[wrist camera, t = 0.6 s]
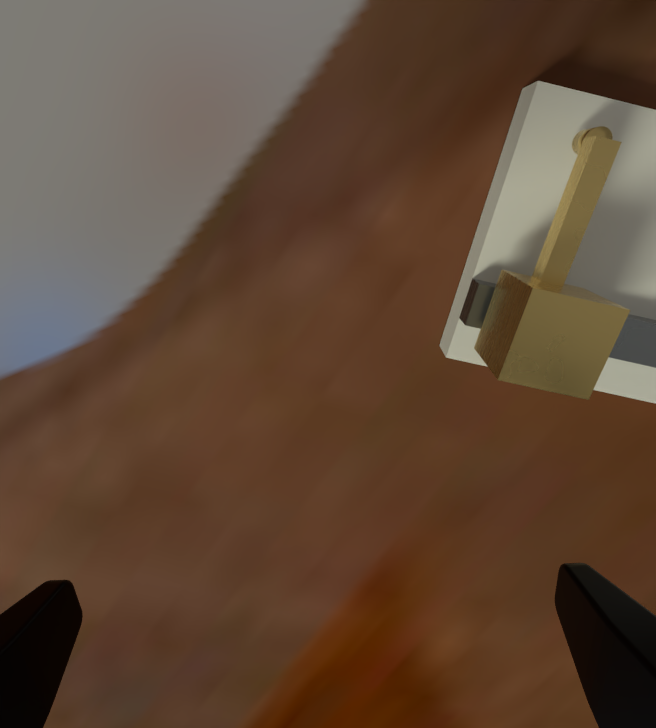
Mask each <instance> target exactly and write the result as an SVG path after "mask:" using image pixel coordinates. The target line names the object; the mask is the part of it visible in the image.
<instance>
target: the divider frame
mask: <svg viewBox="0 0 656 728" xmlns="http://www.w3.org/2000/svg"><path fill="white" fill-rule="evenodd" d="M495 287H496V284H495V283H490V282H486V281H482V280H477V279H473V278H472V281H471V284H470V287H469V290H468V293H467V296H466V299H465V302H464V305H463V308H462V311H461V314H460V317H459V318H460V320H461V321H462V322H463V323H464V325H466V326H470V327H475V328H479V329H481V327H482V324H483V321H484V318H485V315H486V313H487V310H488V307H489V304H490V301H491V298H492V296H493V293H494V290H495ZM609 358H614V359H618V360H623V361H627V362H632V363H636V364H641V365H645V366H650V367H654V368H656V320H653V319H649V318H644V317H640V316H635V315H631V314H628V317H627V319H626V321H625V323H624V325H623V327H622V329H621V332H620V334H619V336H618V338H617V340H616V342H615V344H614V346H613V349H612V351H611V353H610V355H609Z"/></svg>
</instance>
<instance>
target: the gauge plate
mask: <svg viewBox="0 0 656 728" xmlns="http://www.w3.org/2000/svg"><path fill="white" fill-rule="evenodd" d="M600 126H604V127H607V128H609V129H610V131H611V132H612V136H613V139H612V140H615V141H619V142H622V143H621V145H620V147H619V150H618V152H617V155H616V157H615V160H614V162H613V165H612V167H611V170H610V172H609V175H608V177H607V179H606V182H605V184H604V187H603V189H602V192H601V194H600V197H599V199H598V202H597V204H596V207H595V209H594V211H593V214H592V216H591V219H590V221H589V224H588V226H587V229H586V231H585V234H584V236H583V239H582V241H581V243H580V246H579V248H578V251H577V253H576V256H575V258H574V261H573V263H572V266H571V268H570V271H569V273H568V275H567V278H566V280H565V283H564V284H568V285H572V286H576V287H581V288H584V289H586V290H588V291H591V292H593V293H595V294H597V295H599V296H601V297H603V298H606V299H608V300H610V301H612V302H614V303H616V304H619V305H621V306H623V307H625V308H627V309H629V310H630V312H629V314H631V315H635V316H640V317H644V318H649V319H653V320H656V110H654V109H650V108H646V107H642V106H638V105H634V104H630V103H626V102H622V101H618V100H614V99H610V98H606V97H602V96H598V95H594V94H590V93H586V92H582V91H578V90H574V89H570V88H566V87H562V86H558V85H554V84H550V83H546V82H542V81H536V82H534V83H532V84H530V85H528V86H526V87H524V88H522V91H521V94H520V98H519V101H518V104H517V107H516V110H515V113H514V116H513V119H512V122H511V125H510V128H509V132H508V135H507V138H506V141H505V144H504V147H503V150H502V153H501V156H500V159H499V162H498V166H497V169H496V172H495V175H494V178H493V181H492V184H491V187H490V190H489V193H488V196H487V200H486V203H485V206H484V209H483V212H482V215H481V218H480V221H479V224H478V227H477V230H476V234H475V237H474V240H473V243H472V246H471V249H470V252H469V255H468V258H467V261H466V264H465V268H464V271H463V274H462V277H461V280H460V283H459V286H458V289H457V292H456V295H455V298H454V302H453V305H452V308H451V311H450V314H449V317H448V320H447V323H446V326H445V329H444V332H443V336H442V339H441V342H440V345H439V346H440V347H441V349H442V351H443V353H444V355H445V356H446V358H451V359H455V360H460V361H465V362H469V363H474V364H478V365H483V366H487V365H486V364H485V362H484V361H483V360H482V358H481V357H480V356H479V354H478V353H477V352H476V350H475V349H474V346H475V344H476V341H477V338H478V335H479V332H480V330H481V329H479V328H475V327H470V326H466V325H464V323H463V322H462V321H461V320H460V318H459V317H460V314H461V311H462V308H463V305H464V302H465V299H466V296H467V293H468V290H469V287H470V284H471V281H472V278H473V279H477V280H482V281H486V282H490V283H495V284H497V281H498V279H499V276H500V273H501V270H507V271H511V272H515V273H520V274H524V275H528V276H532V274H533V272H534V269H535V266H536V264H537V261H538V259H539V256H540V253H541V251H542V248H543V245H544V243H545V240H546V237H547V235H548V232H549V229H550V227H551V224H552V222H553V219H554V216H555V214H556V211H557V208H558V206H559V203H560V200H561V198H562V195H563V193H564V190H565V187H566V185H567V182H568V179H569V177H570V174H571V171H572V169H573V166H574V163H575V161H576V158H577V156H578V155H577V154H576V153H575V152H574V151H573V149H572V141H573V139H574V137H575V135H576V134H577V133H578V132H580V131H582V130H585V129H590V128H595V127H600ZM487 367H488V366H487ZM593 390H597V391H601V392H606V393H610V394H615V395H620V396H624V397H629V398H633V399H638V400H642V401H647V402H652V403H656V368H654V367H650V366H645V365H641V364H636V363H632V362H627V361H623V360H618V359H614V358H609V357H608V359H607V361H606V364H605V366H604V368H603V370H602V372H601V374H600V376H599V378H598V381H597V383H596V385H595V387H594V389H593Z"/></svg>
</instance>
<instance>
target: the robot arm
mask: <svg viewBox="0 0 656 728" xmlns="http://www.w3.org/2000/svg"><path fill="white" fill-rule="evenodd" d="M555 606H556V610H557V614H558V617H559V619H560V622H561V625H562V628H563V631H564V634H565V637H566V640H567V643H568V646H569V649H570V652H571V654H572V657H573V660H574V663H575V666H576V669H577V672H578V675H579V678H580V681H581V684H582V687H583V689H584V692H585V695H586V698H587V700H588V703H589V705H590V708H591V710H592V712H593V715H594V717H595V719H596V722H597V724H598V726H599V728H656V616H655V615H654V614H653V613H651V612H650V611H649V610H647V609H646V608H645V607H643V606H642V605H641V604H639V603H638V602H637V601H635V600H634V599H633V598H631V597H630V596H629V595H627V594H626V593H625V592H623V591H622V590H621V589H619V588H618V587H617V586H615V585H614V584H613V583H611V582H610V581H609V580H607V579H606V578H605V577H603V576H602V575H601V574H599V573H598V572H597V571H595V570H594V569H593V568H591V567H590V566H589V565H587V564H584V563H565V564H562V565H561V566H560V568H559V573H558V579H557V586H556V592H555ZM81 623H82V609H81V606H80V603H79V601H78V598H77V595H76V592H75V589H74V586H73V584H72V583H71V582H70V581H69V580H50V581H47V582H44V583H43V584H41V585H40V586H39V587H37V588H36V589H34V590H33V591H32V592H30V593H29V594H28V595H26V596H25V597H24V598H22V599H21V600H19V601H18V602H17V603H15V604H14V605H13V606H11V607H10V608H8V609H7V610H6V611H4V612H3V613H2V614H0V728H43V726H44V724H45V722H46V719H47V717H48V715H49V712H50V710H51V707H52V705H53V702H54V699H55V697H56V694H57V691H58V688H59V685H60V683H61V680H62V677H63V674H64V671H65V669H66V666H67V663H68V660H69V657H70V655H71V652H72V649H73V646H74V644H75V641H76V638H77V635H78V632H79V630H80V627H81Z"/></svg>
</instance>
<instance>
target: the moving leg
mask: <svg viewBox="0 0 656 728" xmlns="http://www.w3.org/2000/svg"><path fill="white" fill-rule="evenodd" d="M612 139H613V136H612V132H611V131H610V129H609V128H607V127H604V126H600V127H595V128H590V129H585V130H582V131H580V132H578V133H577V134H576V135H575V137H574V139H573V141H572V149H573V151H574V152H575V153H576V154H577V155H578V156H577V158H576V161H575V163H574V166H573V169H572V171H571V174H570V177H569V179H568V182H567V185H566V187H565V190H564V193H563V195H562V198H561V200H560V203H559V206H558V208H557V211H556V214H555V216H554V219H553V222H552V224H551V227H550V229H549V232H548V235H547V237H546V240H545V243H544V245H543V248H542V251H541V253H540V256H539V259H538V261H537V264H536V266H535V269H534V272H533V274H532V276H528V275H524V274H520V273H515V272H511V271H507V270H501V273H500V276H499V279H498V281H497V284H496V287H495V290H494V293H493V296H492V298H491V301H490V304H489V307H488V310H487V313H486V315H485V318H484V321H483V324H482V327H481V330H480V332H479V335H478V338H477V341H476V344H475V346H474V349H475V350H476V352H477V353H478V354H479V356H480V357H481V358H482V360H483V361H484V362H485V364H486V365H487V366H488V368H489V369H490V370H491V372H492V373H493V374H494V376H495V377H496V378H497V380H501V381H505V382H510V383H514V384H519V385H523V386H528V387H533V388H537V389H542V390H546V391H551V392H556V393H560V394H565V395H569V396H574V397H578V398H583V399H588V400H589V398H590V396H591V393H592V391H593V389H594V387H595V385H596V383H597V381H598V378H599V376H600V374H601V372H602V370H603V368H604V366H605V364H606V361H607V359H608V357H609V355H610V353H611V351H612V349H613V346H614V344H615V342H616V340H617V338H618V336H619V334H620V332H621V329H622V327H623V325H624V323H625V321H626V319H627V317H628V314H629V312H630V310H629V309H627V308H625V307H623V306H621V305H619V304H616V303H614V302H612V301H610V300H608V299H606V298H603V297H601V296H599V295H597V294H595V293H593V292H591V291H588V290H586V289H584V288H581V287H576V286H572V285H568V284H564V283H565V280H566V278H567V275H568V273H569V271H570V268H571V266H572V263H573V261H574V258H575V256H576V253H577V251H578V248H579V246H580V243H581V241H582V239H583V236H584V234H585V231H586V229H587V226H588V224H589V221H590V219H591V216H592V214H593V211H594V209H595V207H596V204H597V202H598V199H599V197H600V194H601V192H602V189H603V187H604V184H605V182H606V179H607V177H608V175H609V172H610V170H611V167H612V165H613V162H614V160H615V157H616V155H617V152H618V150H619V147H620V145H621V143H622V142H619V141H615V140H612Z"/></svg>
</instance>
